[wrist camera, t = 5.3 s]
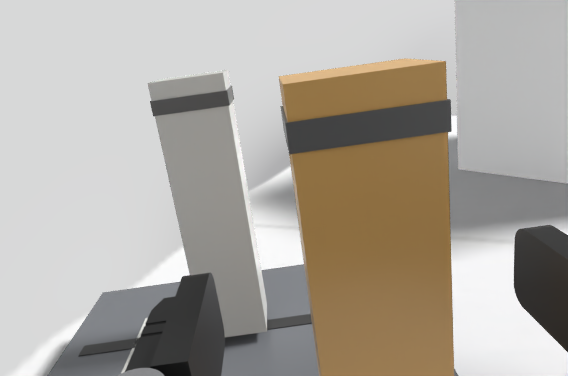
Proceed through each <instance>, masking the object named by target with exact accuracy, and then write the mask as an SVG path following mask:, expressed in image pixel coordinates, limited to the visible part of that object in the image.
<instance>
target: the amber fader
mask: <svg viewBox="0 0 568 376" xmlns="http://www.w3.org/2000/svg"><path fill="white" fill-rule="evenodd" d="M279 82H280V89H281V96H282V104H283V106H281V112H282V120H283V127H284V133H285V137H286V142H287V146H288V150H289V156H290V164H291V171H292V178H293V186H294V193H295V201H296V208H297V216H298V223H299V230H300V238H301V245H302V253H303V260H304V268H305V275H306V282H307V290H308V297H309V305H310V312H311V320H312V327H313V334H314V342H315V349H316V357H317V364H318V372H319V376H454V351H453V313H452V275H451V237H450V199H449V161H448V132H451V100H450V99H447V84H446V62H445V61H433V60H418V59H399V60H392V61H385V62H378V63H371V64H363V65H356V66H350V67H342V68H335V69H328V70H321V71H314V72H307V73H300V74H292V75H286V76H279Z"/></svg>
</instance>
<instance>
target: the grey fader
mask: <svg viewBox="0 0 568 376" xmlns="http://www.w3.org/2000/svg"><path fill="white" fill-rule="evenodd" d="M148 87H149V91H150V96H151V100H152V101H150V103H151V108H152V112H153V116H155V119H156V123H157V128H158V132H159V136H160V141H161V146H162V150H163V155H164V159H165V163H166V169H167V173H168V177H169V182H170V187H171V191H172V196H173V200H174V205H175V209H176V214H177V218H178V222H179V227H180V232H181V237H182V241H183V246H184V250H185V255H186V259H187V264H188V268H189V273H190V275H196V274H203V273H210V272H211V273H212V275H213V278H214V282H215V286H216V291H217V296H218V301H219V306H220V311H221V316H222V321H223V326H224V334H225V337H232V336H239V335H246V334H253V333H260V332H267V301H266V295H265V289H264V283H263V277H262V271H261V265H260V259H259V253H258V247H257V241H256V235H255V229H254V223H253V217H252V211H251V205H250V199H249V193H248V187H247V181H246V175H245V169H244V163H243V157H242V152H241V145H240V139H239V133H238V127H237V121H236V115H235V109H234V103H233V100H234V96H233V90H232V86H231V85H230V79H229V73H228V70H224V71H217V72H209V73H202V74H195V75H188V76H182V77H174V78H167V79H161V80H158V81H154V82H150V83H148Z"/></svg>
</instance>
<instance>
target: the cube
mask: <svg viewBox="0 0 568 376" xmlns="http://www.w3.org/2000/svg"><path fill="white" fill-rule="evenodd" d="M455 31H456V33H455V34H456V87H457V140H458V169H459V170H467V171H474V172H482V173H490V174H497V175H505V176H513V177H520V178H528V179H536V180H543V181H551V182H559V183H566V184H568V0H455Z"/></svg>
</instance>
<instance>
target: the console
mask: <svg viewBox="0 0 568 376" xmlns="http://www.w3.org/2000/svg"><path fill="white" fill-rule="evenodd" d="M261 271H262V277H263V283H264V289H265V295H266V301H267V332H260V333H253V334H246V335H239V336H232V337H225V350H224V358H223V365H222V373H221V376H319V372H318V364H317V357H316V349H315V342H314V334H313V327H312V320H311V312H310V305H309V297H308V290H307V282H306V275H305V268H304V264H303V265H296V266H289V267H282V268H275V269H268V270H261ZM179 285H180V282H175V283H168V284H161V285H154V286H147V287H140V288H133V289H126V290H118V291H111V292H104V293H103V294H102V295H101V296H100V298H99V300H98V301H97V302H96V304H95V305H94V307H93V308H92V310H91V311H90V313H89V314H88V316H87V317H86V319H85V320H84V322H83V323H82V325H81V326H80V328H79V329H78V331H77V332H76V334H75V335H74V337H73V338H72V340H71V341H70V343H69V344H68V346H67V347H66V349H65V350H64V352H63V353H62V355H61V356H60V358H59V359H58V361H57V362H56V364H55V365H54V367H53V368H52V370H51V371H50V373H49V374H48V376H117V375H119V374H121V373H123V372H125V370H126V368H127V365H128V363H129V361H130V358H131V356H132V354H133V351H134V349H135V347H136V344H137V342H138V340H139V337H141V333H142V330H143V328H144V326H146V321H147V319H148V317H149V314H150V312H151V310H152V309H153V308H154V307H155V306H156V305H157V304H158V303H159V302H160V301H161V300H162V299H164V298H168V297H175V296H176V293H177V290H178V287H179ZM454 376H458V374H457V373H456V371H455V369H454Z"/></svg>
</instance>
